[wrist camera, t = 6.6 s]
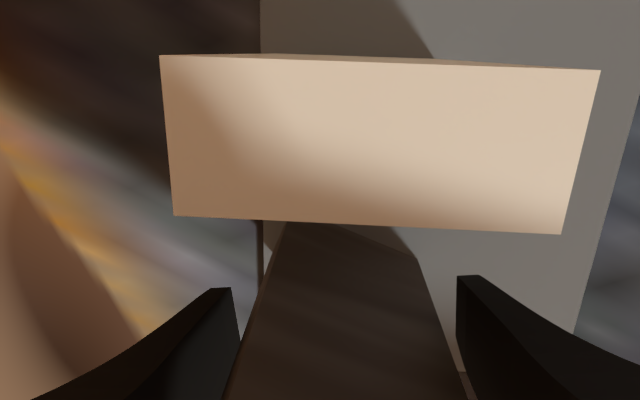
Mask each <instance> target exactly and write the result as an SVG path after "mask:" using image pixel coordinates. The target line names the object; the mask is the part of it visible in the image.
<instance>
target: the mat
mask: <svg viewBox="0 0 640 400" xmlns="http://www.w3.org/2000/svg"><path fill="white" fill-rule="evenodd" d="M260 48H261V54H267V53H280V54H310V55H340V56H370V57H399V58H429V59H446V60H461V61H475V62H490V63H504V64H519V65H533V66H548V67H562V68H577V69H591V70H601V72H600V76H599V80H598V85H597V89H596V93H595V97H594V101H593V105H592V109H591V113H590V117H589V121H588V125H587V129H586V134H585V138H584V142H583V146H582V150H581V154H580V158H579V162H578V166H577V170H576V174H575V179H574V183H573V187H572V191H571V195H570V199H569V203H568V207H567V211H566V215H565V219H564V224H563V228H562V232H561V235H559V234H538V233H518V232H498V231H477V230H457V229H437V228H416V227H396V226H376V225H355V224H335V223H333V224H335V225H338V226H340V227H342V228H345V229H347V230H350V231H352V232H354V233H357V234H359V235H362V236H364V237H366V238H369V239H371V240H374V241H376V242H378V243H381V244H383V245H386V246H388V247H390V248H393V249H395V250H398V251H400V252H402V253H405V254H407V255H410V256H412V257H414V258H417V259H418V262H419V265H420V268H421V270H422V273H423V276H424V279H425V282H426V284H427V287H428V290H429V293H430V295H431V298H432V301H433V304H434V307H435V309H436V312H437V315H438V318H439V321H440V323H441V326H442V329H443V332H444V334H445V337H446V340H447V343H448V346H449V348H450V351H451V354H452V357H453V360H454V362H455V365H456V368H457V371H460V372H466V370H465V368H464V364H463V361H462V358H461V354H460V351H459V347H458V344H457V340H456V336H455V331H456V283H457V276H461V275H480V276H482V277H483V278H485V279H487V280H488V281H489V282H491V283H492V284H494V285H495V286H497V287H498V288H500V289H501V290H502V291H504V292H505V293H507V294H508V295H510V296H511V297H513V298H514V299H515V300H517V301H518V302H520V303H521V304H523V305H524V306H526V307H527V308H529V309H531V310H532V311H534V312H535V313H537V314H538V315H540V316H542V317H543V318H545V319H547V320H548V321H550V322H552V323H553V324H555V325H557V326H559V327H560V328H562V329H564V330H565V331H567V332H569V333H571V334H573V331H574V328H575V324H576V320H577V317H578V313H579V310H580V306H581V302H582V299H583V295H584V292H585V288H586V285H587V281H588V277H589V274H590V270H591V267H592V263H593V259H594V256H595V252H596V249H597V245H598V242H599V238H600V234H601V231H602V227H603V224H604V220H605V217H606V213H607V209H608V206H609V202H610V199H611V195H612V191H613V188H614V184H615V181H616V177H617V174H618V170H619V166H620V163H621V159H622V156H623V152H624V148H625V145H626V141H627V138H628V134H629V131H630V127H631V123H632V120H633V116H634V113H635V109H636V106H637V102H638V98H639V95H640V0H260ZM285 222H286V221H274V220H263V244H264V275H265V272H266V269H267V266H268V264H269V261H270V258H271V255H272V252H273V250H274V248H275V245H276V243H277V241H278V238H279V236H280V234H281V231H282V229H283V227H284V224H285Z"/></svg>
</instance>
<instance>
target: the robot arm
mask: <svg viewBox="0 0 640 400" xmlns="http://www.w3.org/2000/svg"><path fill="white" fill-rule="evenodd" d="M455 336H456V340H457V344H458V347H459V351H460V354H461V358H462V361H463V364H464V368H465V370H466V373H467V375H468V377H469V380H470V382H471V384H472V387H473V389H474V391H475V394H476V396H477V398H478V400H640V365H638V364H635V363H633V362H630V361H628V360H626V359H623V358H621V357H618V356H616V355H614V354H612V353H609V352H607V351H605V350H603V349H601V348H599V347H597V346H595V345H593V344H591V343H589V342H587V341H585V340H583V339H581V338H579V337H577V336H575V335H573V334H571V333H569V332H567V331H565V330H564V329H562V328H560V327H559V326H557V325H555V324H553V323H552V322H550V321H548V320H547V319H545V318H543V317H542V316H540V315H538V314H537V313H535V312H534V311H532V310H531V309H529V308H527V307H526V306H524V305H523V304H521V303H520V302H518V301H517V300H515V299H514V298H513V297H511V296H510V295H508V294H507V293H505V292H504V291H502V290H501V289H500V288H498V287H497V286H495V285H494V284H492V283H491V282H489V281H488V280H487V279H485V278H483V277H482V276H480V275H461V276H457V283H456V331H455ZM240 343H241V341H240V335H239V330H238V324H237V319H236V313H235V308H234V302H233V297H232V291H231V287H224V288H210V289H209V290H207V291H206V292H204V293H203V294H202V295H200V296H199V297H198V298H196V299H195V300H194V301H192V302H191V303H190V304H189V305H187V306H186V307H185V308H184V309H182V310H181V311H180V312H178V313H177V314H176V315H174V316H173V317H172V318H171V319H169V320H168V321H167V322H165V323H164V324H163V325H161V326H160V327H159V328H157V329H156V330H154V331H153V332H152V333H150V334H149V335H147V336H146V337H144V338H143V339H142V340H140V341H139V342H137V343H136V344H135V345H133V346H132V347H130V348H129V349H127V350H125V351H124V352H122V353H121V354H119V355H118V356H116V357H114V358H113V359H111V360H109V361H107V362H106V363H104V364H102V365H101V366H99V367H97V368H95V369H93V370H91V371H89V372H87V373H85V374H84V375H82V376H80V377H78V378H76V379H74V380H72V381H70V382H68V383H66V384H64V385H62V386H60V387H58V388H56V389H54V390H52V391H49V392H47V393H45V394H43V395H40V396H38V397H36V398H34V399H32V400H220V399H221V396H222V394H223V391H224V388H225V385H226V382H227V379H228V377H229V374H230V371H231V368H232V365H233V362H234V360H235V357H236V354H237V351H238V348H239V346H240Z"/></svg>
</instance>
